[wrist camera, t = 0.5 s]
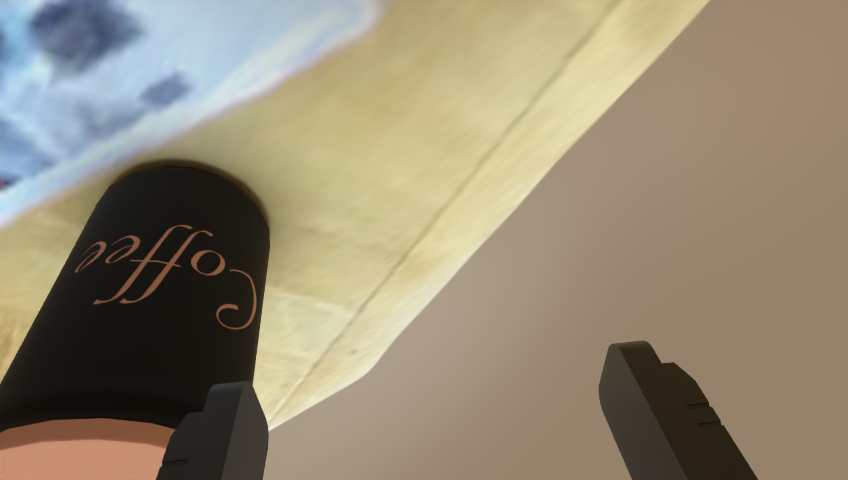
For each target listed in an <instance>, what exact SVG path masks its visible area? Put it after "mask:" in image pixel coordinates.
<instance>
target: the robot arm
mask: <svg viewBox="0 0 848 480" xmlns="http://www.w3.org/2000/svg"><path fill="white" fill-rule="evenodd" d="M599 398H600V404H601V407H602V410H603V413H604V415H605V418H606V420H607V422H608V425H609V427H610V429H611V432H612V434H613V436H614V439H615V441H616V443H617V446H618V448H619V450H620V453H621V455H622V457H623V459H624V462H625V464H626V467H627V469H628V471H629V473H630V476H631V478H632V480H758V479H757V477H756V476H755V474H754V472H753V471H752V469H751V468H750V466H749V464H748V463H747V461H746V460H745V458H744V457H743V455H742V453H741V452H740V450H739V449H738V447H737V446H736V444H735V443H734V441H733V439H732V438H731V436H730V435H729V433H728V431H727V430H726V428H725V427H724V425H723V426H722V425H721V422H720V421H721V420H720V419H719V417H718V416H717V414H716V413H715V411H714V409H713V408H712V407H710V406H709V402H708V400H707V398H706V397H705V395H704V394H703V392H702V391H701V389H700V387H699V386H698V384H697V383H696V381H695V380H694V379H693V378H692V377H690V376H689V375H688V374H687V373H686V372H685V371H683V370H682V369H681V368H680V367H679V366H678V365H676V364H675V363H674V362H672V363H663V364H662V363H661V361H660V360H659V358H658V356H657V355H656V353H655V351H654V350H653V348H652V346H651V345H650V344H649V343H648V342H646V341H634V342H625V343H615V344H611V345H610V346H609V349H608V352H607V356H606V360H605V363H604V367H603V371H602V375H601V379H600V383H599ZM267 450H268V425H267V421H266V418H265V415H264V413H263V410H262V408H261V405H260V403H259V400H258V398H257V396H256V393H255V391H254V388H253V386H252V384H251V382H250V381H242V382H233V383H223V384H215V385H213V386H212V387H211V388H210V390H209V393H208V396H207V399H206V402H205V406H204V409H203V412H194V413H188V414H187V415H186V416H185V418H184V419H183V420H182V422H181V423H180V424H179V426H178V427H177V428H176V430H175V431H174V432H173V434H172V435H171V436H170V439H169V442H168V445H167V448H166V451H165V454H164V457H163V460H162V467H160V468H159V471H158V474H157V477H156V480H262V479H263V474H264V468H265V462H266V456H267Z"/></svg>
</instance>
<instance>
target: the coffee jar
mask: <svg viewBox="0 0 848 480" xmlns="http://www.w3.org/2000/svg"><path fill="white" fill-rule="evenodd" d="M269 251H270V238H269V228H268V226H267V224H266V222H265V220H264V218H263V216H262V214H261V212H260V210H259V208H258V207H257V205H256V204H255V203H254V202H253V201H252V200H251V199H250V198H249V197H248V196H247V195H246V194H245V193H244V192H243V191H242V190H240V189H239V188H238V187H237V186H235V185H233V184H232V183H230V182H228V181H227V180H225V179H223V178H221V177H220V176H218V175H215V174H212V173H208V172H205V171H202V170H198V169H195V168H186V167H169V166H167V167H160V168H155V169H150V170H145V171H140V172H135V173H133V174H131V175H130V176H128V177H126V178H124V179H122V180H121V181H119V182H117V183H115V184H114V185H112V186H110V187H109V188H108V190H107V191H106V192H105V194H104V195H103V197H102V198H101V199H100V201H99V202H98V203H97V205H96V207H95V209H94V211H93V212H92V214H91V216H90V218H89V220H88V222H87V224H86V225H85V227H84V229H83V231H82V233H81V235H80V237H79V239H78V240H77V242H76V244H75V246H74V248H73V250H72V252H71V253H70V255H69V257H68V259H67V261H66V263H65V265H64V266H63V268H62V270H61V272H60V274H59V276H58V278H57V279H56V281H55V283H54V285H53V287H52V289H51V291H50V293H49V294H48V296H47V298H46V300H45V302H44V304H43V306H42V307H41V309H40V311H39V313H38V315H37V317H36V319H35V320H34V322H33V324H32V326H31V328H30V330H29V332H28V333H27V335H26V337H25V339H24V341H23V343H22V345H21V347H20V348H19V350H18V352H17V354H16V356H15V358H14V360H13V361H12V363H11V365H10V367H9V369H8V371H7V373H6V374H5V376H4V378H3V380H2V382H1V384H0V480H156V477H157V474H158V471H159V468H160V467H162V460H163V457H164V454H165V451H166V448H167V445H168V442H169V439H170V436H171V435H172V434H173V432H174V431H175V430H176V428H177V427H178V426H179V424H180V423H181V422H182V420H183V419H184V418H185V416H186V415H187V414H188V413H194V412H203V409H204V406H205V402H206V399H207V396H208V393H209V390H210V388H211V387H212V386H213V385H215V384H223V383H233V382H242V381H250V382H251V384H252V385H253V377H254V369H255V361H256V354H257V346H258V338H259V330H260V322H261V314H262V306H263V298H264V290H265V282H266V274H267V266H268V258H269Z"/></svg>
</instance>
